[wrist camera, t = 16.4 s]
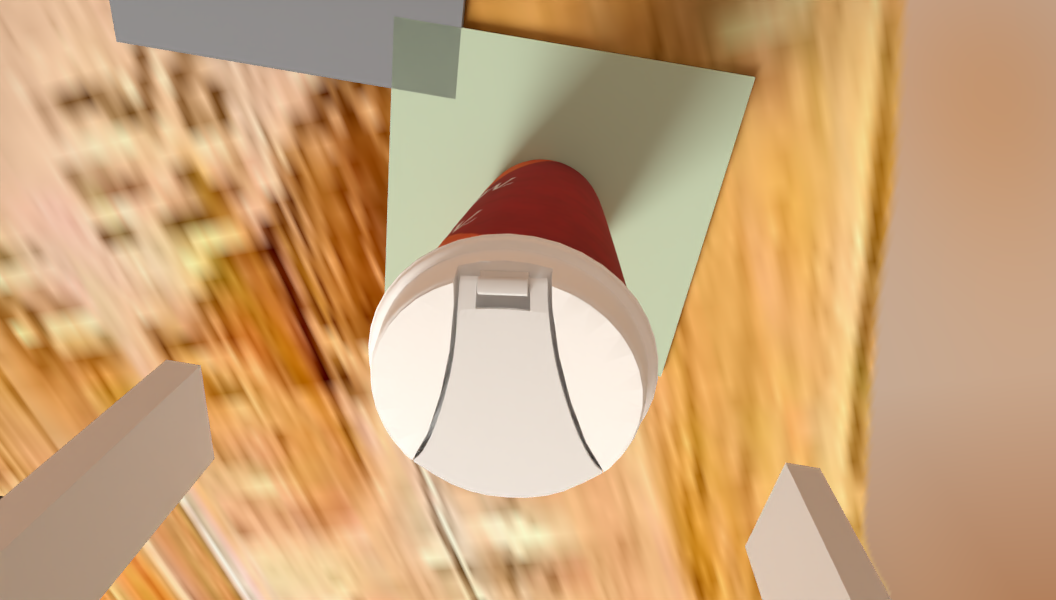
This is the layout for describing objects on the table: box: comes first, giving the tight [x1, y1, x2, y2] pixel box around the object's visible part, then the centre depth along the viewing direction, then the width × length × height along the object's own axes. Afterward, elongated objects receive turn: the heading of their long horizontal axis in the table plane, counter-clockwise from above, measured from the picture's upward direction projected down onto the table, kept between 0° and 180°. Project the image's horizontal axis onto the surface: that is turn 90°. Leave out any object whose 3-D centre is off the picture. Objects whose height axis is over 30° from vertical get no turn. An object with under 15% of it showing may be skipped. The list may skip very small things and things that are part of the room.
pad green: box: [385, 16, 755, 376], centre depth 28 cm, size 16×16×1 cm
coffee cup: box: [368, 159, 658, 498], centre depth 21 cm, size 8×8×15 cm
